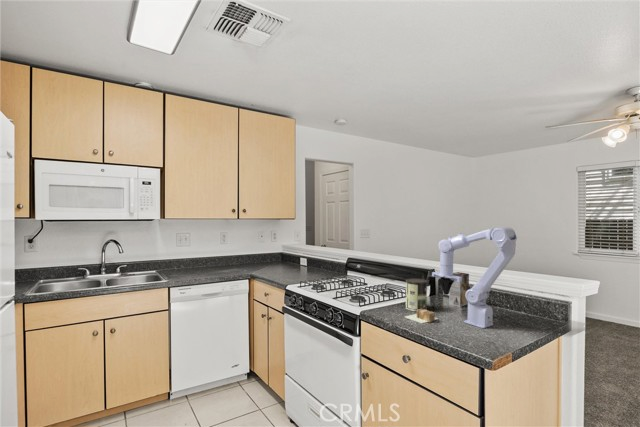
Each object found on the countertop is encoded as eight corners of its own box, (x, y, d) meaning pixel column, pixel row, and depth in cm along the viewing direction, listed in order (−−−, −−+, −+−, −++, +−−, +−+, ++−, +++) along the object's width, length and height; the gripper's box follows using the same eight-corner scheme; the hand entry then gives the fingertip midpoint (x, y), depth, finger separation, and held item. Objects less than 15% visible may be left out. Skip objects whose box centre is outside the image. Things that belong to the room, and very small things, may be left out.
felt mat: (438, 319, 154) (438, 318, 154) (422, 323, 147) (422, 322, 147) (420, 313, 162) (420, 312, 162) (404, 317, 156) (404, 316, 156)
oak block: (434, 312, 151) (421, 308, 157) (429, 313, 149) (416, 309, 155) (434, 320, 151) (421, 316, 157) (429, 322, 149) (416, 317, 155)
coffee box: (457, 301, 183) (457, 271, 183) (468, 304, 179) (469, 273, 178) (448, 304, 177) (449, 273, 177) (460, 307, 173) (461, 275, 172)
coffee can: (425, 306, 174) (426, 278, 174) (427, 312, 164) (428, 283, 164) (404, 305, 176) (405, 277, 176) (405, 310, 166) (406, 281, 166)
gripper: (428, 263, 162) (427, 292, 163) (455, 268, 150) (454, 299, 151) (437, 262, 166) (437, 290, 167) (464, 266, 154) (464, 296, 155)
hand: (446, 294), depth 159 cm, fingers closed
